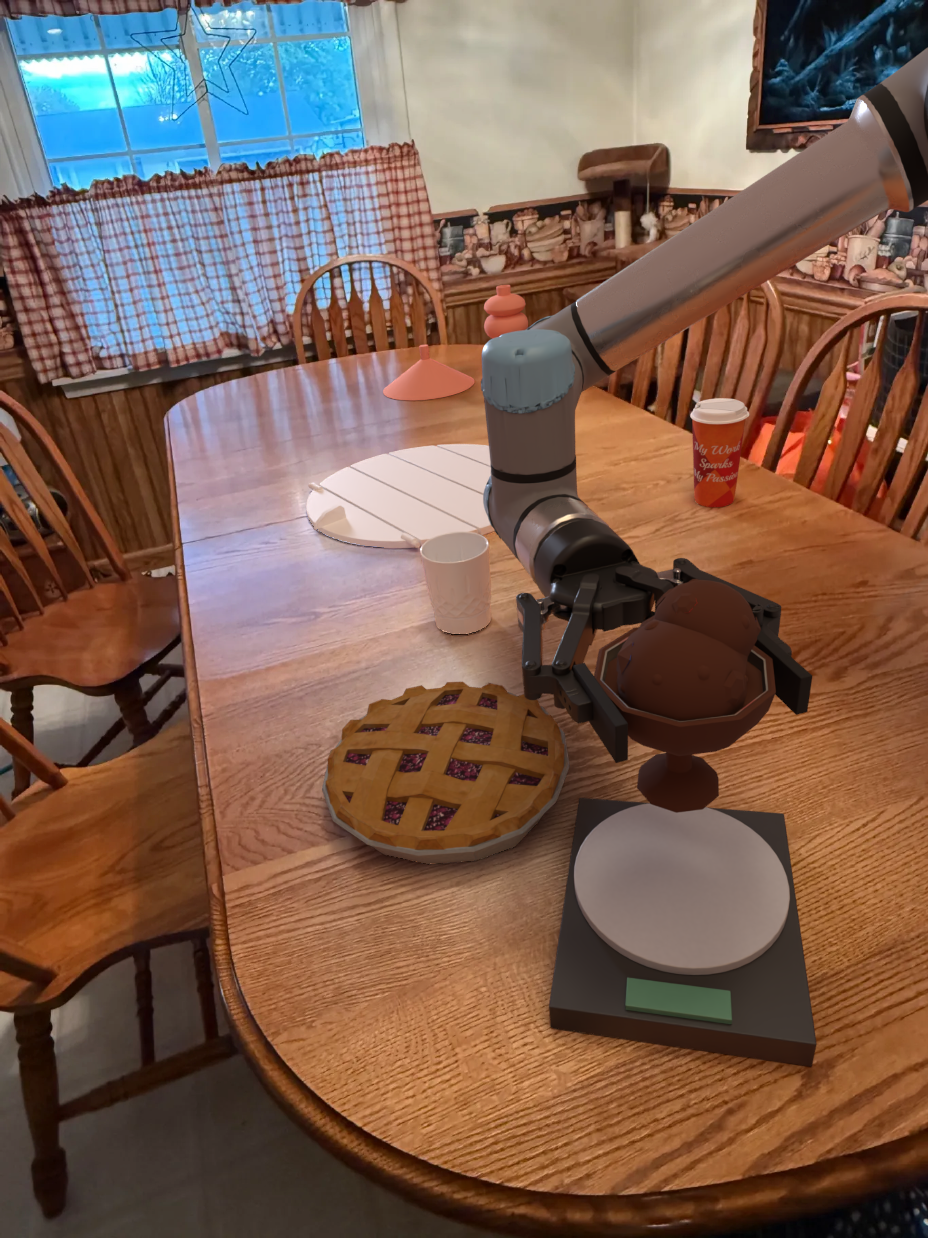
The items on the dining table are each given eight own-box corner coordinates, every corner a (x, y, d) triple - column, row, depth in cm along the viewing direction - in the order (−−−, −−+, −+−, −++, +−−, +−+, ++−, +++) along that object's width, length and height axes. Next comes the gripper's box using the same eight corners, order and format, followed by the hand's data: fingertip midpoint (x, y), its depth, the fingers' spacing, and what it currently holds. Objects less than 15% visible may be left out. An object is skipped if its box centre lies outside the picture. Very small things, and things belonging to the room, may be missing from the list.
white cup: (482, 642, 94) (474, 565, 89) (420, 634, 97) (408, 559, 92) (505, 607, 100) (498, 533, 95) (446, 601, 103) (436, 529, 98)
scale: (781, 835, 65) (785, 805, 64) (812, 1067, 50) (818, 1037, 48) (579, 817, 69) (578, 789, 68) (550, 1029, 54) (547, 999, 52)
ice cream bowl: (630, 716, 62) (631, 537, 54) (783, 759, 56) (808, 567, 49) (568, 807, 55) (558, 616, 47) (737, 867, 49) (758, 661, 41)
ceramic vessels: (392, 406, 177) (378, 315, 167) (376, 382, 195) (362, 299, 185) (545, 378, 183) (540, 289, 173) (516, 358, 201) (510, 276, 191)
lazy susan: (382, 578, 110) (378, 555, 108) (263, 501, 138) (258, 481, 136) (599, 486, 128) (599, 466, 126) (454, 435, 156) (452, 417, 155)
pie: (294, 872, 67) (281, 829, 65) (367, 708, 86) (359, 669, 83) (560, 892, 63) (557, 846, 60) (578, 714, 81) (577, 673, 78)
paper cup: (685, 509, 118) (688, 414, 111) (689, 488, 124) (692, 397, 117) (742, 511, 116) (749, 414, 108) (743, 489, 122) (750, 396, 114)
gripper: (705, 570, 70) (880, 721, 52) (441, 631, 66) (528, 818, 48) (710, 488, 66) (901, 620, 48) (429, 548, 62) (519, 716, 44)
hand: (715, 719), depth 48 cm, fingers closed on ice cream bowl, 11 cm apart
